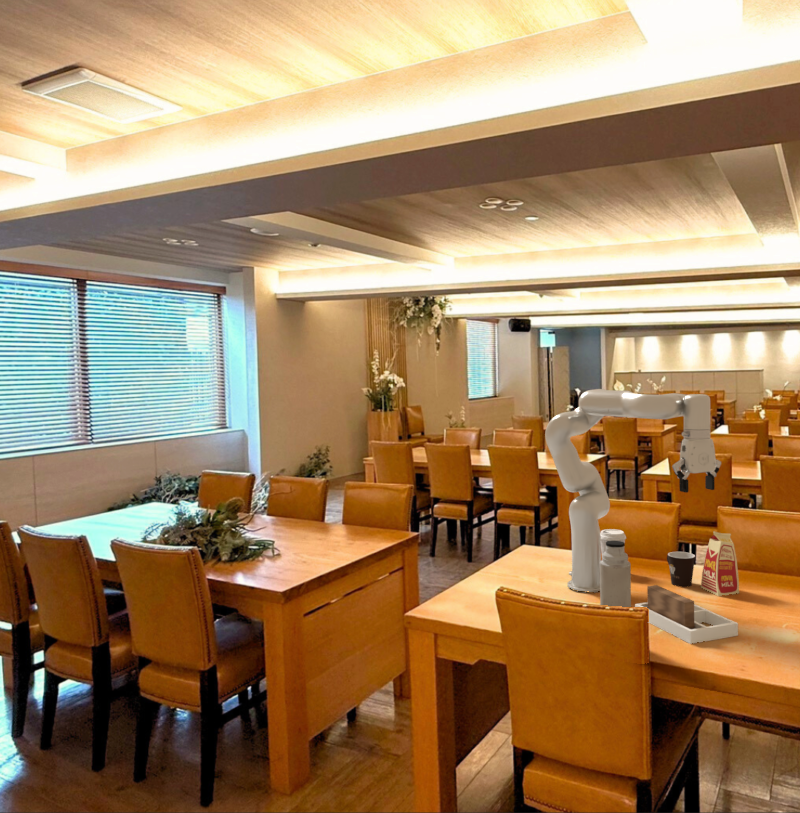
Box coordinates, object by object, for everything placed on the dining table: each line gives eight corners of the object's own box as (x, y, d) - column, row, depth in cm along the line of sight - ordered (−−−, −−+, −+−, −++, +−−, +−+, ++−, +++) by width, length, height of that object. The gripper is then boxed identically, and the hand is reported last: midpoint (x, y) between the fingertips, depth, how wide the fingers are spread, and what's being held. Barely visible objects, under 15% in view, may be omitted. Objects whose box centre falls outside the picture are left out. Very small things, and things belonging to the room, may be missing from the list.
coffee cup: (596, 569, 270) (595, 528, 269) (622, 568, 269) (622, 528, 268) (602, 576, 260) (602, 535, 259) (629, 576, 260) (629, 534, 259)
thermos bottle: (596, 638, 203) (595, 538, 202) (625, 637, 204) (624, 537, 202) (605, 649, 195) (604, 546, 194) (635, 648, 196) (634, 545, 194)
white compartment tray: (635, 615, 220) (634, 604, 220) (678, 608, 226) (678, 597, 225) (690, 644, 198) (690, 631, 198) (738, 635, 203) (738, 623, 203)
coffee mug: (697, 588, 245) (697, 558, 244) (670, 587, 246) (670, 558, 246) (690, 578, 256) (690, 549, 255) (664, 577, 258) (664, 549, 257)
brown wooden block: (647, 619, 217) (647, 586, 217) (656, 618, 218) (656, 585, 218) (684, 638, 202) (684, 602, 202) (694, 636, 203) (694, 601, 203)
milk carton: (718, 596, 236) (718, 534, 235) (699, 588, 245) (699, 528, 244) (742, 593, 238) (742, 532, 237) (722, 585, 247) (722, 526, 246)
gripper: (681, 437, 217) (682, 494, 218) (728, 434, 222) (728, 490, 223) (665, 435, 224) (665, 490, 225) (711, 432, 230) (711, 486, 231)
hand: (697, 490), depth 224 cm, fingers open, 9 cm apart
